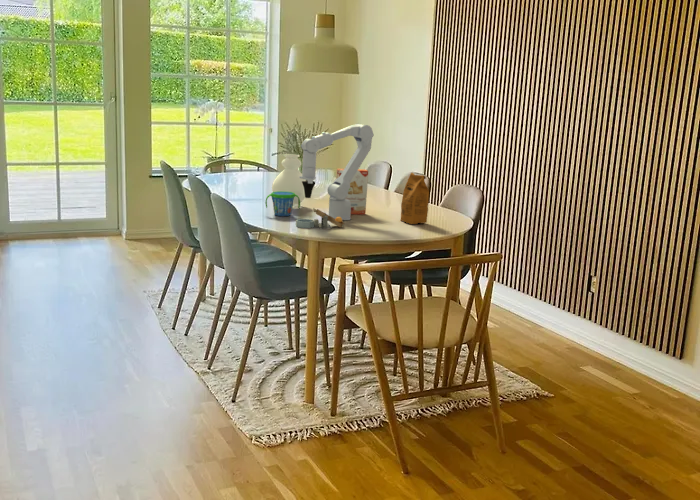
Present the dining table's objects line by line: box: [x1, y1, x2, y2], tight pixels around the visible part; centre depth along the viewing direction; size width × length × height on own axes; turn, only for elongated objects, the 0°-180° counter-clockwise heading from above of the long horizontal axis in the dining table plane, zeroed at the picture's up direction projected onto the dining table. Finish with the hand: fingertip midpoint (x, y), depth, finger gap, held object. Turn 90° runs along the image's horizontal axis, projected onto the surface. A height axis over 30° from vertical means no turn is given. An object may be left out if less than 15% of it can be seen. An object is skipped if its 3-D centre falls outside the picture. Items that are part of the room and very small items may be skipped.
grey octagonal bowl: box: [295, 218, 315, 229], centre depth 316 cm, size 7×7×2 cm
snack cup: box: [264, 191, 301, 217], centre depth 337 cm, size 16×10×10 cm
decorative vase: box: [271, 153, 306, 210], centre depth 359 cm, size 18×18×25 cm
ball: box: [335, 217, 343, 223], centre depth 318 cm, size 3×3×3 cm
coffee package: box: [400, 172, 430, 225], centre depth 334 cm, size 10×12×22 cm
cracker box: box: [335, 168, 369, 216], centre depth 349 cm, size 14×6×21 cm, turn 105°
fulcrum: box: [313, 212, 332, 229], centre depth 317 cm, size 7×9×5 cm
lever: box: [312, 207, 345, 229], centre depth 320 cm, size 12×12×3 cm
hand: (307, 197), depth 328 cm, fingers closed
